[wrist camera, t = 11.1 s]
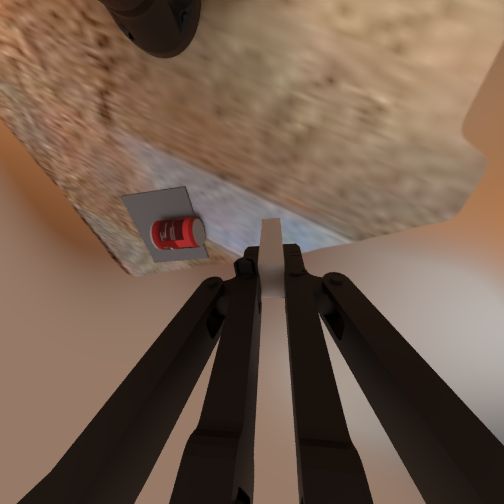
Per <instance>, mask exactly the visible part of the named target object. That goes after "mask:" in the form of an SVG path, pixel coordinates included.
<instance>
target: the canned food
mask: <svg viewBox="0 0 504 504" xmlns="http://www.w3.org/2000/svg"><path fill="white" fill-rule="evenodd" d="M150 238H151V241H152V243H153V245H154V246H155V247H156V248H157V249H159V250H173V249H187V248H198V247H201V246H202V245H203V243H204V240H205V231H204V227H203V224H202V222H201V221H200V220H199V219H198V218H194V217H191V218H180V219H169V220H159V221H155V222H153V223H152V225H151V227H150Z"/></svg>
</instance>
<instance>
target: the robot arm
mask: <svg viewBox="0 0 504 504" xmlns="http://www.w3.org/2000/svg"><path fill="white" fill-rule="evenodd" d="M99 1H100V2H101V3H103V4H104V6H105V7H106V8H107V10H108V11H109V13H110V14H111V16H112V17H113V19H114V20H115V22H116V23H117V25H118V26H119V28H120V29H121V30H122V31H123V33H124V34H125V35H126V36H127V37H128V38H129V39H130V40H131V41H132V42H133V43H134V44H135V45H137V46H138V47H140V48H141V49H142V50H144V51H145V52H147V53H149V54H151V55H153V56H156V57H160V58H170V57H174V56H176V55H178V54H180V53H181V52H182V51H183V50H184V49H185V48H186V47H187V46H188V45H189V43H190V42H191V40H192V38H193V36H194V34H195V32H196V29H197V25H198V21H199V16H200V6H201V0H99ZM234 268H235V273H236V277H234V278H232V279H230V280H226V281H223V280H222V279H221V278H220V277H210V278H207V279H206V280H204V281H203V282H202V283H201V285H200V286H199V287H198V288H197V289H196V291H195V292H194V293H193V295H192V296H191V297H190V298H189V299H188V301H187V302H186V303H185V304H184V306H183V307H182V308H181V310H180V311H179V312H178V313H177V314H176V316H175V317H174V318H173V319H172V321H171V322H170V323H169V324H168V326H167V327H166V328H165V329H164V331H163V332H162V333H161V334H160V336H159V337H158V338H157V339H156V341H155V342H154V343H153V345H152V346H151V347H150V348H149V349H148V351H147V352H146V353H145V354H144V356H143V357H142V358H141V359H140V361H139V362H138V363H137V364H136V366H135V367H134V368H133V369H132V371H131V372H130V373H129V374H128V376H127V377H126V378H125V379H124V381H123V382H122V383H121V384H120V386H119V387H118V388H117V390H116V391H115V392H114V393H113V394H112V396H111V397H110V398H109V399H108V401H107V402H106V403H105V405H104V406H103V407H102V408H101V409H100V411H99V412H98V413H97V415H96V416H95V417H94V418H93V419H92V421H91V422H90V423H89V424H88V426H87V427H86V428H85V429H84V431H83V432H82V433H81V435H80V436H79V437H78V438H77V439H76V441H75V442H74V443H73V444H72V446H71V447H70V448H69V449H68V451H67V452H66V453H65V454H64V456H63V457H62V458H61V459H60V461H59V462H58V463H57V465H56V466H55V467H54V468H53V469H52V471H51V472H50V473H49V474H48V475H47V476H46V477H44V478H43V479H42V480H41V481H40V482H39V483H38V484H37V485H36V486H35V487H34V488H33V489H32V490H31V491H30V492H29V493H27V494H26V495H25V496H24V497H23V498H22V499H21V500H20V501H19V502H18V503H17V504H134V503H135V501H136V499H137V497H138V495H139V493H140V492H141V490H142V488H143V486H144V484H145V483H146V481H147V479H148V477H149V475H150V473H151V471H152V469H153V467H154V465H155V463H156V461H157V459H158V457H159V455H160V453H161V451H162V449H163V447H164V445H165V443H166V441H167V439H168V438H169V435H170V434H171V431H172V430H173V428H174V426H175V424H176V421H177V420H178V418H179V416H180V414H181V412H182V410H183V408H184V406H185V404H186V402H187V400H188V398H189V396H190V394H191V392H192V390H193V388H194V386H195V385H196V383H197V381H198V378H199V377H200V375H201V373H202V371H203V369H204V367H205V365H206V363H207V361H208V359H209V357H210V355H211V353H212V351H213V349H214V347H215V345H216V343H217V341H218V339H219V337H220V341H219V344H218V349H217V352H216V356H215V360H214V364H213V368H212V372H211V376H210V381H209V384H208V388H207V393H206V396H205V400H204V404H203V408H202V412H201V416H200V420H199V423H198V425H197V428H196V429H195V430H194V431H193V433H192V434H191V435H190V437H189V439H188V441H187V443H186V446H185V449H184V452H183V456H182V459H181V463H180V466H179V470H178V473H177V477H176V481H175V484H174V488H173V492H172V495H171V499H170V503H169V504H253V492H254V437H255V436H254V435H255V418H256V401H257V383H258V364H259V347H260V327H261V312H262V303H261V295H262V298H285V309H286V321H287V335H288V347H289V362H290V375H291V388H292V402H293V416H294V430H295V443H296V457H297V475H298V490H299V504H373V500H372V497H371V493H370V490H369V485H368V482H367V478H366V475H365V471H364V468H363V465H362V461H361V459H360V456H359V454H358V451H357V450H356V448H355V447H354V445H353V443H352V441H351V438H350V436H349V432H348V428H347V424H346V420H345V417H344V413H343V409H342V405H341V401H340V397H339V393H338V389H337V385H336V381H335V377H334V374H333V369H332V366H331V361H330V357H329V353H328V349H327V346H326V342H325V338H324V334H323V330H322V326H321V322H320V318H319V314H320V317H321V318H322V320H323V322H324V323H325V325H326V327H327V329H328V331H329V333H330V334H331V336H332V338H333V340H334V341H335V343H336V345H337V347H338V348H339V350H340V352H341V354H342V355H343V357H344V359H345V360H346V363H347V364H348V366H349V368H350V370H351V371H352V373H353V375H354V377H355V378H356V380H357V382H358V384H359V386H360V387H361V389H362V391H363V393H364V394H365V396H366V398H367V400H368V402H369V403H370V405H371V407H372V408H373V410H374V412H375V414H376V416H377V417H378V419H379V421H380V423H381V425H382V426H383V428H384V430H385V432H386V433H387V435H388V436H389V439H390V440H391V442H392V444H393V446H394V448H395V449H396V451H397V452H398V455H399V456H400V458H401V460H402V461H403V463H404V465H405V467H406V469H407V471H408V472H409V474H410V476H411V478H412V479H413V481H414V483H415V485H416V486H417V488H418V490H419V492H420V494H421V495H422V497H423V499H424V501H425V502H426V504H504V446H503V444H502V443H501V442H500V441H499V440H498V439H497V438H496V437H495V436H494V435H493V434H492V433H491V431H490V430H489V429H488V428H487V427H486V426H485V425H484V424H483V423H482V422H481V421H480V420H479V418H478V417H477V416H476V415H475V414H474V413H473V412H472V411H471V410H470V409H469V408H468V407H467V406H466V405H465V403H464V402H463V401H462V400H461V399H460V398H459V397H458V396H457V395H456V394H455V393H454V391H453V390H452V389H451V388H450V387H449V386H448V385H447V384H446V383H445V382H444V381H443V380H442V379H441V378H440V376H439V375H438V374H437V373H436V372H435V371H434V370H433V369H432V368H431V367H430V366H429V365H428V363H427V362H426V361H425V360H424V359H423V358H422V357H421V356H420V355H419V354H418V353H417V352H416V350H415V349H414V348H413V347H412V346H411V345H410V344H409V343H408V342H407V341H406V340H405V339H404V338H403V337H402V335H401V334H400V333H399V332H398V331H397V330H396V329H395V328H394V327H393V326H392V325H391V324H390V322H389V321H388V320H387V319H386V318H385V317H384V316H383V315H382V314H381V313H380V312H379V311H378V309H377V308H376V307H375V306H374V305H373V304H372V303H371V302H370V301H369V300H368V299H367V298H366V297H365V295H364V294H363V293H362V292H361V291H360V290H359V289H358V288H357V287H356V286H355V285H354V284H353V282H352V281H351V280H350V279H349V278H348V277H346V276H345V275H343V274H341V273H337V272H330V273H327V274H325V275H324V276H323V278H322V277H317V276H313V275H311V274H309V273H308V272H307V270H306V269H305V267H304V263H303V259H302V255H301V251H300V247H299V246H298V245H297V244H282V233H281V223H280V218H271V219H263V220H262V229H261V238H260V246H253V247H248V248H247V249H246V250H245V252H244V256H243V258H240V259H238V260H236V261H235V262H234ZM318 313H319V314H318ZM220 335H221V336H220Z"/></svg>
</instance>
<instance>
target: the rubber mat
mask: <svg viewBox="0 0 504 504" xmlns="http://www.w3.org/2000/svg"><path fill="white" fill-rule="evenodd" d="M121 198H122V200H123V202H124V204H125V206H126V208H127V210H128V212H129V214H130V216H131V218H132V219H133V221H134V223H135V225H136V227H137V229H138V231H139V233H140V235H141V237H142V239H143V241H144V243H145V244H146V246H147V248H148V250H149V252H150V254H151V256H152V258H153V260H154V262H167V261H179V260H192V259H205V258H209V256H208V253H207V250H206V247H205V244H204V243H203V245H202V246H201V247H198V248H187V249H173V250H159V249H157V248H156V247H155V246H154V245H153V243H152V241H151V238H150V227H151V225H152V223H153V222H155V221H159V220H169V219H180V218H191V217H194V218H196V217H195V214H194V211H193V208H192V205H191V202H190V199H189V196H188V193H187V190H186V187H178V188H172V189H165V190H158V191H152V192H145V193H138V194H132V195H125V196H121Z"/></svg>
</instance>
